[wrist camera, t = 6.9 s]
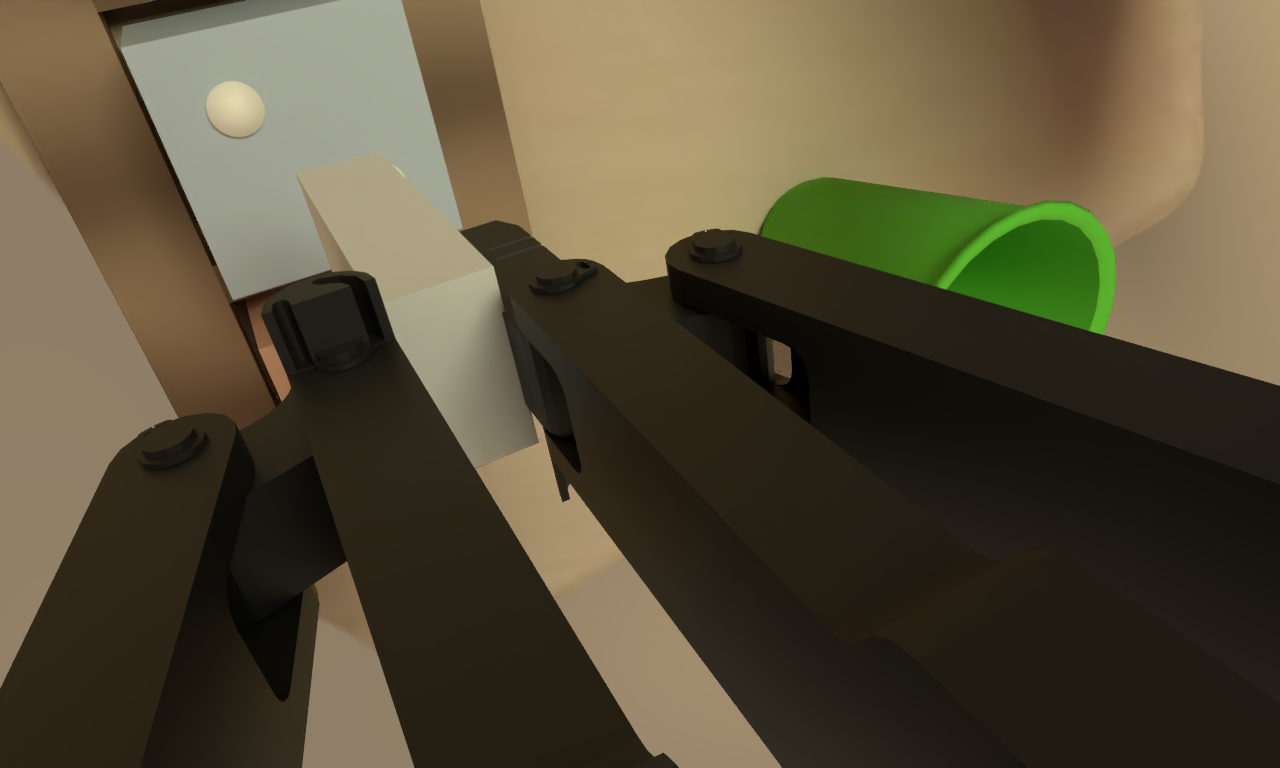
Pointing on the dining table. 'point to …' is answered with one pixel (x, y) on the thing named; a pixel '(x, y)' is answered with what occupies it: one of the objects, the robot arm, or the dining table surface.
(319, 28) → the grey block
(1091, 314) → the cup
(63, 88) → the board
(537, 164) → the dining table surface
